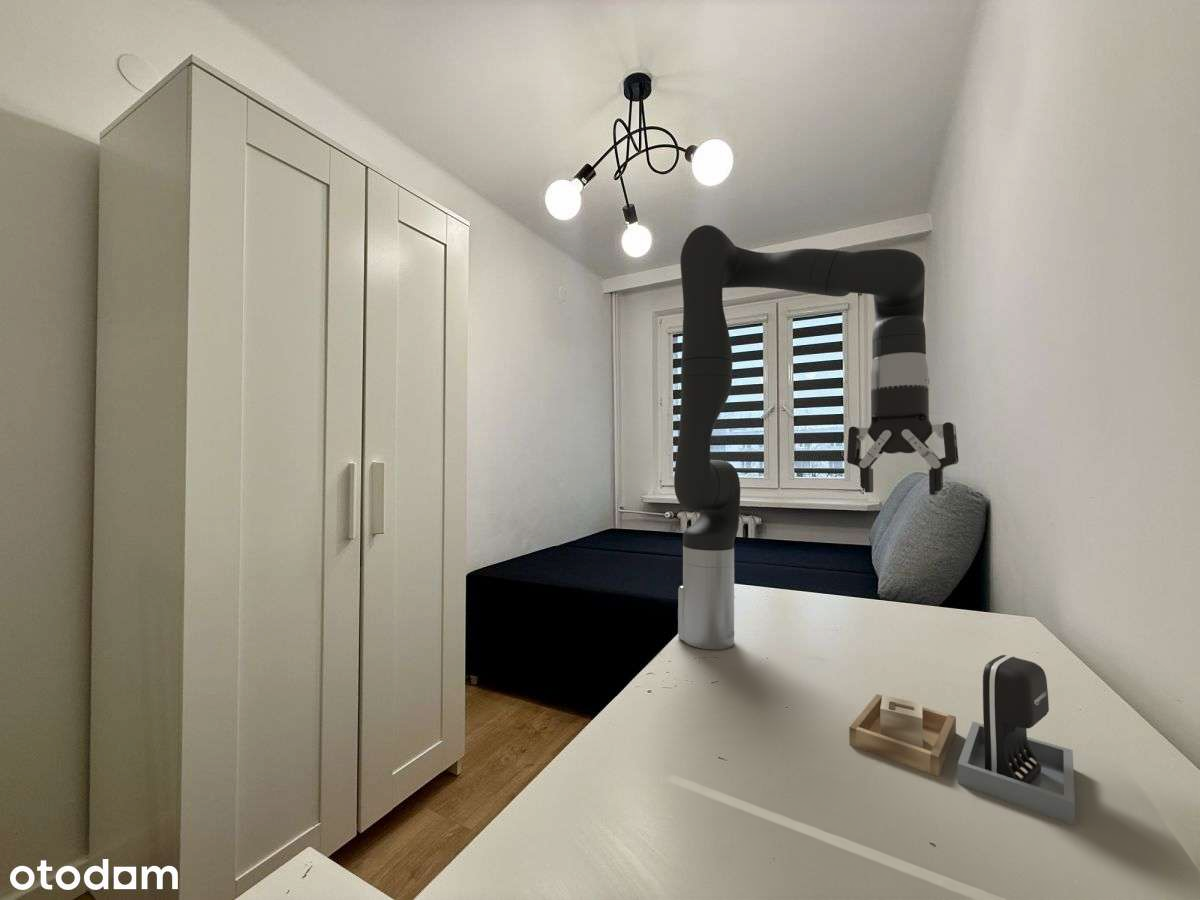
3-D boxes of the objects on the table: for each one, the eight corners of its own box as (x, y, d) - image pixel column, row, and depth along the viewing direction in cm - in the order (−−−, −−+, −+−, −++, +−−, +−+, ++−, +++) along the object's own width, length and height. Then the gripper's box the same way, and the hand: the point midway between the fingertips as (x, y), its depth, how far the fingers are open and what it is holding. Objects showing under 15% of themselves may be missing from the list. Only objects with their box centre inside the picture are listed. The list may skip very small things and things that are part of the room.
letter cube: (880, 744, 56) (880, 707, 56) (883, 729, 59) (882, 694, 59) (922, 755, 54) (922, 717, 54) (922, 739, 57) (922, 703, 57)
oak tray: (849, 749, 56) (849, 726, 56) (876, 713, 64) (876, 694, 64) (938, 782, 50) (938, 757, 50) (956, 738, 58) (955, 716, 59)
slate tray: (958, 789, 49) (957, 763, 49) (973, 743, 57) (972, 721, 57) (1075, 832, 43) (1074, 803, 43) (1073, 774, 52) (1072, 749, 52)
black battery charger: (1031, 799, 47) (1028, 676, 47) (982, 778, 50) (980, 663, 50) (1054, 774, 51) (1051, 661, 51) (1007, 756, 54) (1005, 649, 54)
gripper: (841, 388, 78) (842, 492, 77) (951, 378, 68) (953, 496, 67) (855, 394, 83) (856, 491, 82) (959, 385, 73) (961, 495, 73)
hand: (900, 493), depth 75 cm, fingers open, 8 cm apart
